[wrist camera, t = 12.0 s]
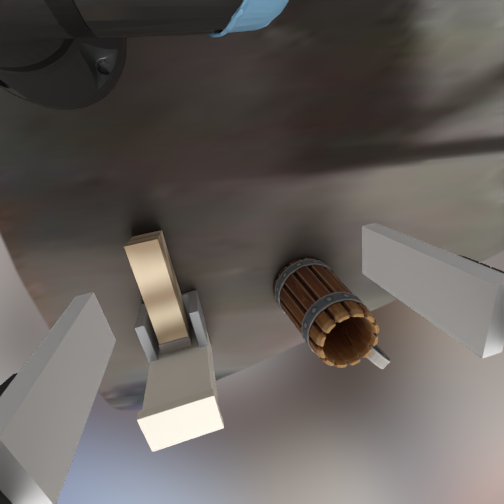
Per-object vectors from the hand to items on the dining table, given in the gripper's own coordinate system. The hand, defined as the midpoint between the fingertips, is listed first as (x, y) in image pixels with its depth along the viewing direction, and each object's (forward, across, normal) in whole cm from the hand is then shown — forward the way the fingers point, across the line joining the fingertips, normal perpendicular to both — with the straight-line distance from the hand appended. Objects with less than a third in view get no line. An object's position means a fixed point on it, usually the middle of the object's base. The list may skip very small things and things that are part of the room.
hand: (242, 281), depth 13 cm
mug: (+27, +14, -20) cm, 36 cm away
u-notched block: (+27, -9, -20) cm, 35 cm away
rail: (+26, -9, -12) cm, 30 cm away
